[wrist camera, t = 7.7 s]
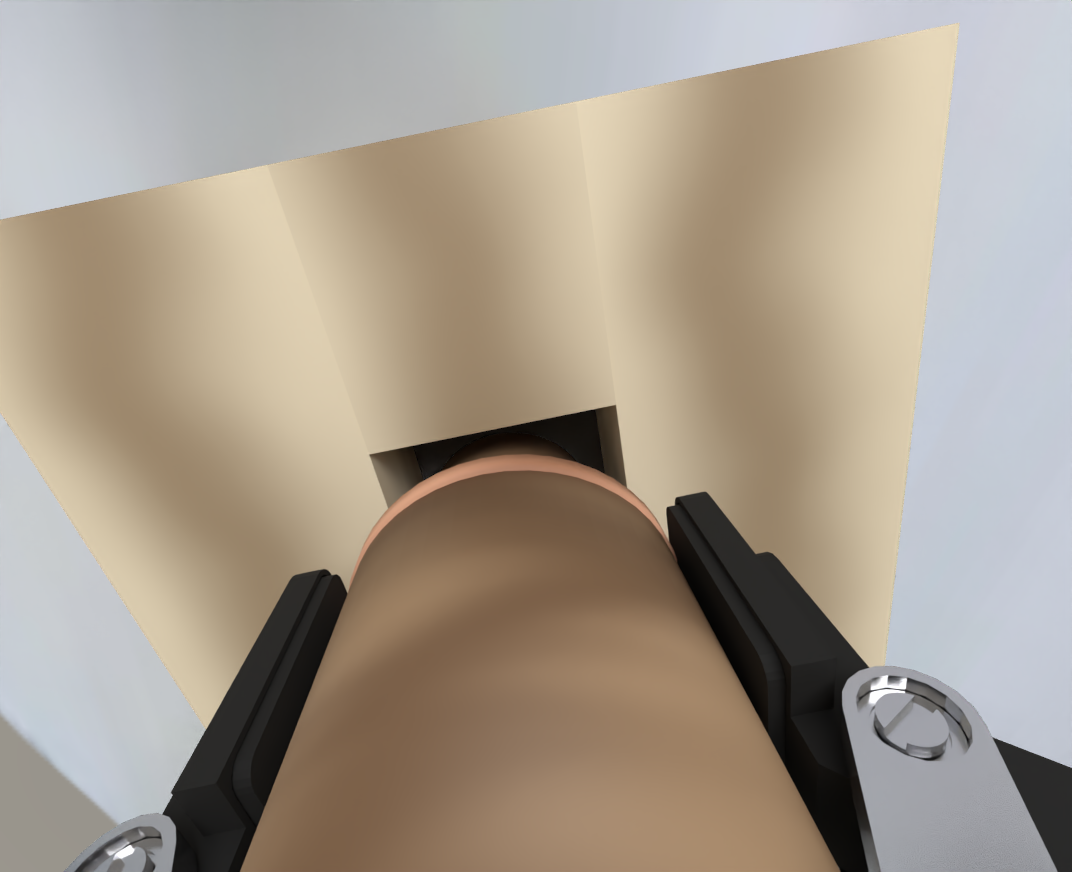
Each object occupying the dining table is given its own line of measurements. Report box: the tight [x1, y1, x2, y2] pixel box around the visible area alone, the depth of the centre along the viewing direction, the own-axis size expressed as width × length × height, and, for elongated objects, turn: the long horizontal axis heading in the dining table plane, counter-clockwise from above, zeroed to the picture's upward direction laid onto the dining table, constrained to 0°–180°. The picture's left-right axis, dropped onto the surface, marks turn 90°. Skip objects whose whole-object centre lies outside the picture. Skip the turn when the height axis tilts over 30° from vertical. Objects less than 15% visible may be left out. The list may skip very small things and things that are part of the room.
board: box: [0, 23, 959, 729], centre depth 13 cm, size 18×16×4 cm
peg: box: [240, 432, 841, 872], centre depth 9 cm, size 6×6×10 cm
